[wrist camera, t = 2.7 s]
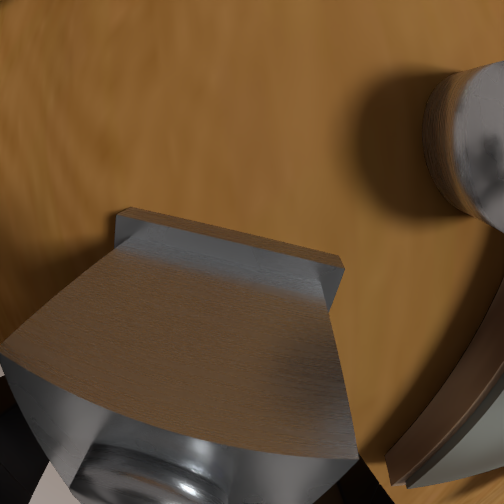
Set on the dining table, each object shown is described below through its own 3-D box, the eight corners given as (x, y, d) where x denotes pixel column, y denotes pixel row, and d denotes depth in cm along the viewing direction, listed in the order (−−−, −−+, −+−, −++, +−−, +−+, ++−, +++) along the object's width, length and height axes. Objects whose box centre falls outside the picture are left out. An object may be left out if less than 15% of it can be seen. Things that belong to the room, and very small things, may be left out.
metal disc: (503, 230, 7) (548, 255, 5) (403, 188, 7) (446, 208, 5) (529, 112, 6) (576, 114, 4) (432, 48, 6) (476, 27, 4)
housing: (262, 439, 12) (248, 577, 5) (131, 405, 12) (74, 528, 5) (338, 254, 8) (428, 490, 2) (132, 205, 8) (-67, 337, 2)
